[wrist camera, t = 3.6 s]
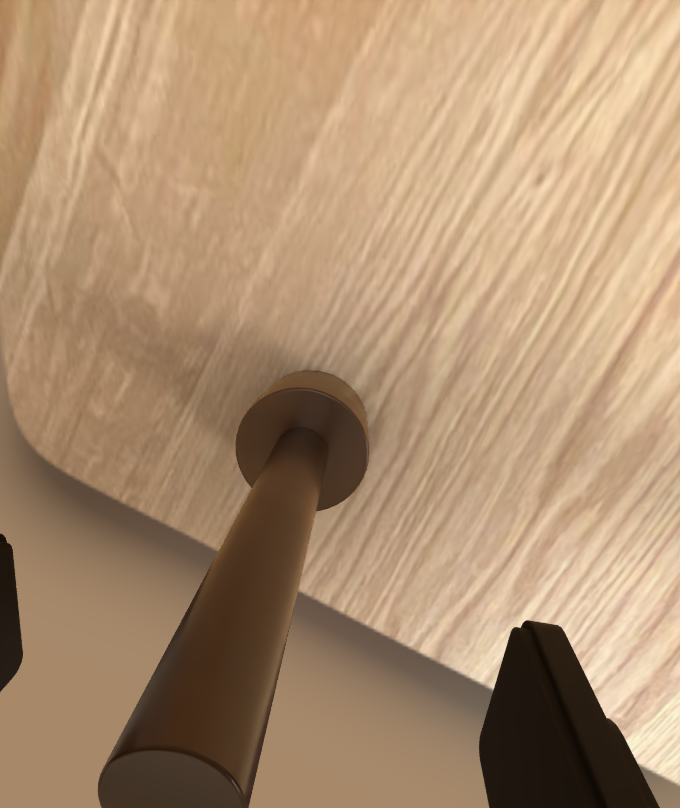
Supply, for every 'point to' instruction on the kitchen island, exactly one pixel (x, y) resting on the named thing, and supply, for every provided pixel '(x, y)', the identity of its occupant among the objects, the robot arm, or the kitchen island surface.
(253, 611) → the brown rod piece
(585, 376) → the kitchen island surface
